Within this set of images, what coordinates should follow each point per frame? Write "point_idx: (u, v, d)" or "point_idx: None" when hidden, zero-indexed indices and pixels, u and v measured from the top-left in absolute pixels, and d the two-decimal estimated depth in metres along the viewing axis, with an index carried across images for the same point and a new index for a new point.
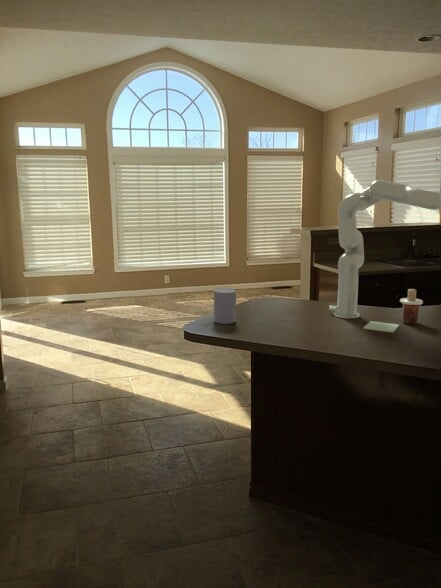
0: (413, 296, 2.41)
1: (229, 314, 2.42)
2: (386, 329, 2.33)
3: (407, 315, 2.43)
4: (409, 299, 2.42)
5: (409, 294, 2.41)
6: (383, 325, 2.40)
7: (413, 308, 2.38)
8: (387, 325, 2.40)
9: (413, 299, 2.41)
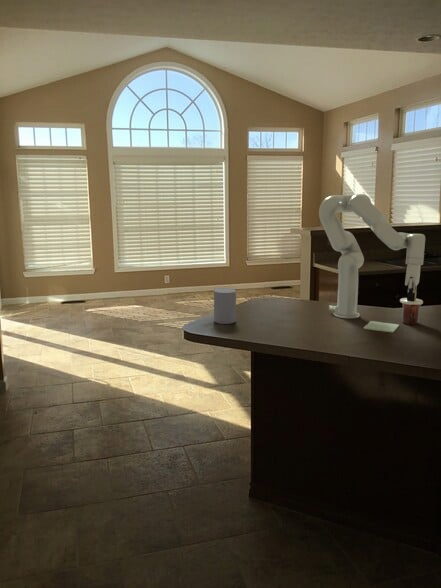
0: None
1: (229, 314, 2.42)
2: (386, 329, 2.33)
3: (407, 315, 2.43)
4: None
5: None
6: (383, 325, 2.40)
7: (413, 308, 2.38)
8: (387, 325, 2.40)
9: None
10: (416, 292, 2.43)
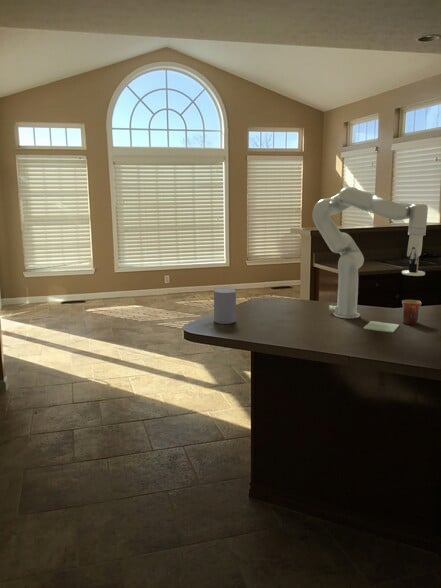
0: None
1: (229, 314, 2.42)
2: (386, 329, 2.33)
3: (407, 315, 2.43)
4: None
5: None
6: (383, 325, 2.40)
7: (413, 308, 2.38)
8: (387, 325, 2.40)
9: None
10: (418, 264, 2.40)
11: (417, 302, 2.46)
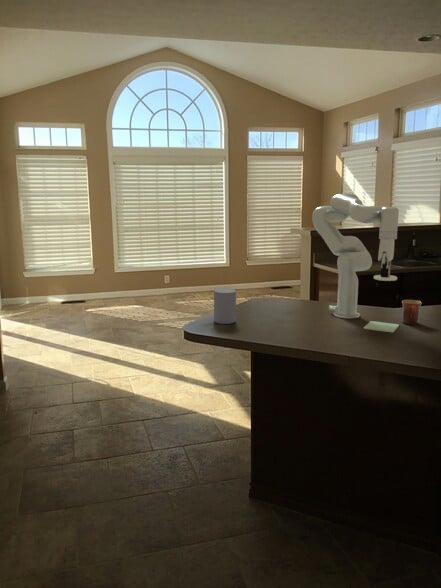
0: None
1: (229, 314, 2.42)
2: (386, 329, 2.33)
3: (407, 315, 2.43)
4: None
5: None
6: (383, 325, 2.40)
7: (413, 308, 2.38)
8: (387, 325, 2.40)
9: None
10: (390, 268, 2.34)
11: (417, 302, 2.46)
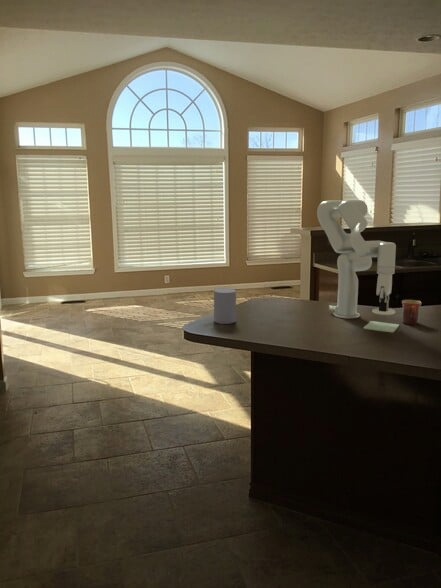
0: None
1: (229, 314, 2.42)
2: (386, 329, 2.33)
3: (407, 315, 2.43)
4: None
5: None
6: (383, 325, 2.40)
7: (413, 308, 2.38)
8: (387, 325, 2.40)
9: None
10: None
11: (417, 302, 2.46)
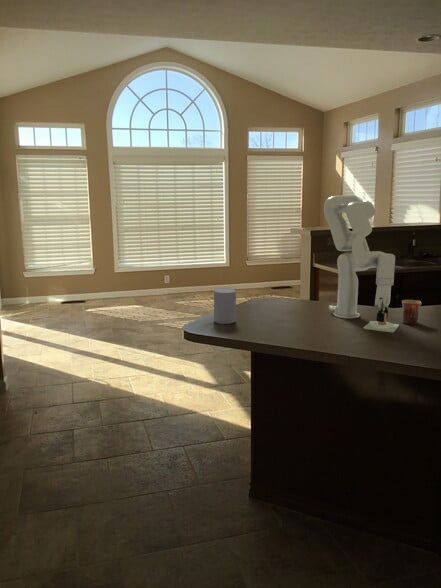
0: None
1: (229, 314, 2.42)
2: (386, 329, 2.33)
3: (407, 315, 2.43)
4: (379, 323, 2.37)
5: None
6: None
7: (413, 308, 2.38)
8: None
9: (383, 323, 2.37)
10: (387, 311, 2.40)
11: (417, 302, 2.46)
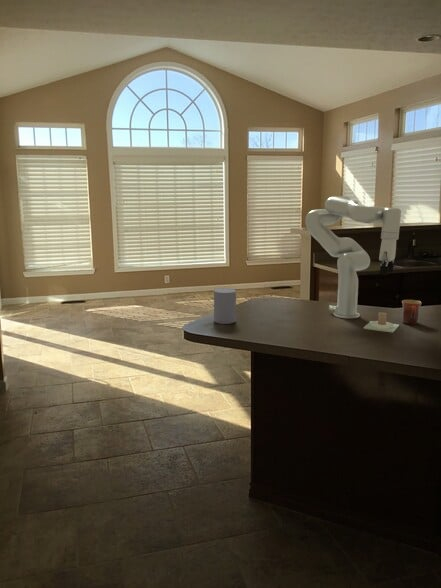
0: (383, 320, 2.36)
1: (229, 314, 2.42)
2: (386, 329, 2.33)
3: (407, 315, 2.43)
4: (379, 323, 2.37)
5: (379, 318, 2.37)
6: None
7: (413, 308, 2.38)
8: None
9: (383, 323, 2.37)
10: (393, 265, 2.40)
11: (417, 302, 2.46)
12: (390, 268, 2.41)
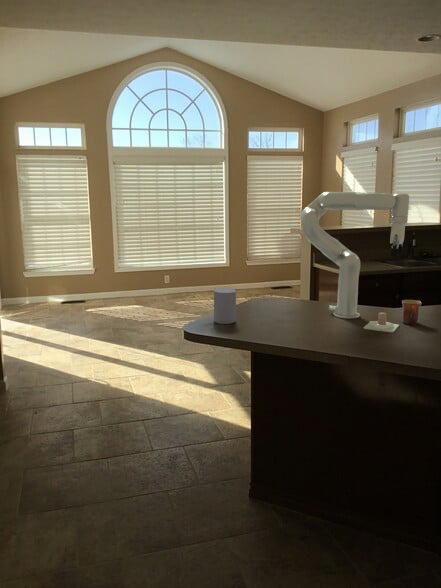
0: (383, 320, 2.36)
1: (229, 314, 2.42)
2: (386, 329, 2.33)
3: (407, 315, 2.43)
4: (379, 323, 2.37)
5: (379, 318, 2.37)
6: None
7: (413, 308, 2.38)
8: None
9: (383, 323, 2.37)
10: (402, 248, 2.55)
11: (417, 302, 2.46)
12: (399, 251, 2.55)
